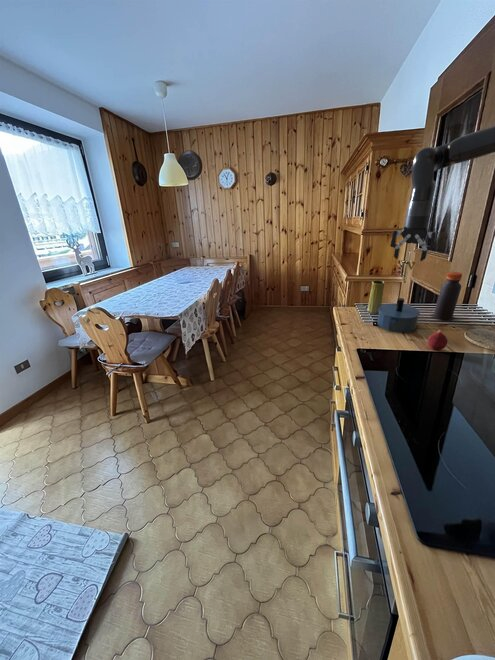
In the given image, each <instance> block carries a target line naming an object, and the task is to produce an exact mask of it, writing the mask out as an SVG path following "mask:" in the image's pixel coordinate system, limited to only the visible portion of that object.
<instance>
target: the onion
mask: <svg viewBox="0 0 495 660" xmlns="http://www.w3.org/2000/svg"><path fill="white" fill-rule="evenodd" d="M448 343H449V342H448V337H447V335H445V334H444V333H443V331H442V330H441V329H439V330H438V331H437V332H434V333H431V335H429V337H428V338H427V345H428V347H429V348H430V349H431V350H433V351H441V350H443V349H445V348H446V347H447V345H448Z"/></svg>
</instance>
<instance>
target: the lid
mask: <svg viewBox="0 0 495 660" xmlns="http://www.w3.org/2000/svg"><path fill="white" fill-rule="evenodd" d="M404 303H405V298H403V297H398V298H397V301H396V303H385V304H382V305H381V306H380V307H379V312H380V313H381V314H383V315H385V316H388V317H391V318H396V319H413V318H416V317H418V318H419V316H420V315H421V314H420V313H421V312H420V310H419V309H418V308H416V307H414V306H411V305H408V304H404Z"/></svg>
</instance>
